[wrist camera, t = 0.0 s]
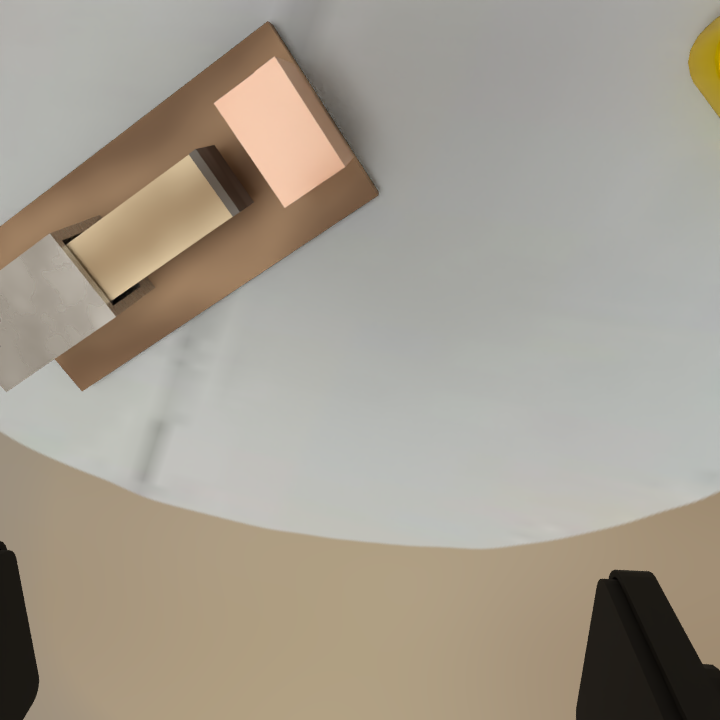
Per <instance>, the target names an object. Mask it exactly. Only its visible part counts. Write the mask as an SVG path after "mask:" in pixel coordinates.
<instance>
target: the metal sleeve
mask: <svg viewBox="0 0 720 720" xmlns="http://www.w3.org/2000/svg"><path fill="white" fill-rule="evenodd" d="M101 219H102V217H101V216H100V215H98V216H95V217H93V218H90V219H87V220H85V221H82V222H79V223H76V224H74V225H71V226H68V227H66V228H63V229H60V230H57V231H55V232H52V233H50V234H48V235H47V236H46V237H44V238H43V239H41V240H40V241H39V242H37V243H36V244H35V245H33V246H32V247H31V248H29V249H28V250H27V251H25V252H24V253H23V254H21V255H20V256H19V257H17V258H16V259H15V260H13V261H12V262H11V263H9V264H8V265H7V266H5V267H4V268H3V269H1V270H0V385H1V387H2V388H3V389H4V390H5V391H6V392H7V391H9V390H10V389H12V388H13V387H14V386H16V385H17V384H19V383H20V382H22V381H23V380H25V379H26V378H28V377H29V376H30V375H32V374H33V373H35V372H36V371H38V370H39V369H41V368H42V367H44V366H45V365H47V364H48V363H49V362H51V361H52V360H54V359H55V358H57V357H58V356H60V355H61V354H63V353H64V352H66V351H67V350H68V349H70V348H71V347H73V346H74V345H76V344H77V343H79V342H80V341H82V340H83V339H84V338H86V337H87V336H89V335H90V334H92V333H93V332H95V331H96V330H98V329H99V328H101V327H102V326H103V325H105V324H106V323H108V322H109V321H111V320H112V319H114V318H115V317H117V316H118V315H119V314H121V313H122V312H123V311H125V310H126V309H127V308H129V307H130V306H131V305H133V304H134V303H135V302H137V301H138V300H139V299H141V298H142V297H143V296H145V295H146V294H147V293H149V292H150V291H151V290H153V289H154V288H155V286H154V285H153V284H152V282H151V281H150V280H149V278H148V277H145V278H144V279H142V280H141V281H140V282H138V283H137V284H135V285H134V286H132V287H131V288H129V289H128V290H127V291H125V292H124V293H122V294H121V295H119V296H118V297H116V298H115V299H114V300H112V301H111V302H110V301H109V299H108V298H107V297H106V296H105V294H104V293H103V292H102V291H101V289H100V288H99V287H98V286H97V284H96V283H95V282H94V281H93V279H92V278H91V277H90V275H89V274H88V273H87V272H86V270H85V269H84V268H83V267H82V265H81V264H80V263H79V262H78V260H77V259H76V258H75V257H74V255H73V254H72V253H71V251H70V250H69V249H68V248H67V246H66V245H67V244H68V243H69V242H71V241H72V240H73V239H75V238H76V237H77V236H79V235H80V234H81V233H83V232H84V231H86V230H87V229H88V228H90V227H91V226H92V225H94V224H95V223H96V222H98V221H99V220H101Z"/></svg>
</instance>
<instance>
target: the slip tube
mask: <svg viewBox="0 0 720 720" xmlns="http://www.w3.org/2000/svg"><path fill="white" fill-rule="evenodd" d="M252 203H254V201H253V200H252V199H251V197H250V196H249V194H248V193H247V191H246V190H245V188H244V187H243V186H242V184H241V183H240V181H239V180H238V178H237V177H236V175H235V174H234V173H233V171H232V170H231V168H230V167H229V165H228V164H227V162H226V161H225V159H224V158H223V157H222V155H221V154H220V152H219V151H218V149H217V148H216V146H215V145H212V146H207V147H203V148H198V149H195V150H194V151H192V152H191V153H190V154H189V155H188V156H186V157H185V158H183V159H182V160H181V161H179V162H178V163H177V164H175V165H174V166H173V167H171V168H170V169H169V170H167V171H166V172H164V173H163V174H162V175H160V176H159V177H158V178H156V179H155V180H154V181H152V182H151V183H149V184H148V185H147V186H145V187H144V188H143V189H141V190H140V191H139V192H137V193H136V194H135V195H133V196H132V197H130V198H129V199H128V200H126V201H125V202H124V203H122V204H121V205H120V206H118V207H117V208H115V209H114V210H113V211H111V212H110V213H109V214H107V215H106V216H105V217H103V218H102V219H101V220H99V221H98V222H96V223H95V224H94V225H92V226H91V227H90V228H88V229H87V230H86V231H84V232H83V233H81V234H80V235H79V236H77V237H76V238H75V239H73V240H72V241H71V242H69V243H68V244H67V245H66V246H67V248H68V249H69V250H70V251H71V253H72V254H73V255H74V257H75V258H76V259H77V260H78V262H79V263H80V264H81V265H82V267H83V268H84V269H85V270H86V272H87V273H88V274H89V275H90V277H91V278H92V279H93V281H94V282H95V283H96V284H97V286H98V287H99V288H100V289H101V291H102V292H103V293H104V294H105V296H106V297H107V298H108V299H109V301H110V302H111V301H112V300H114V299H115V298H116V297H118V296H119V295H121V294H122V293H124V292H125V291H127V290H128V289H129V288H131V287H132V286H134V285H135V284H137V283H138V282H140V281H141V280H142V279H144V278H145V277H147V276H148V275H150V274H151V273H152V272H154V271H155V270H157V269H158V268H160V267H161V266H163V265H164V264H165V263H167V262H168V261H170V260H171V259H173V258H174V257H176V256H177V255H178V254H180V253H181V252H183V251H184V250H186V249H187V248H188V247H190V246H191V245H193V244H194V243H196V242H197V241H199V240H200V239H201V238H203V237H204V236H206V235H207V234H209V233H210V232H212V231H213V230H214V229H216V228H217V227H219V226H220V225H222V224H223V223H224V222H226V221H227V220H229V219H230V218H232V217H233V216H235V215H236V214H238V213H239V212H241V211H242V210H244V209H245V208H247V207H248V206H250V205H251V204H252Z"/></svg>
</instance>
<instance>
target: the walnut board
mask: <svg viewBox="0 0 720 720" xmlns="http://www.w3.org/2000/svg"><path fill="white" fill-rule="evenodd" d="M273 57H277V58H280V59H283V60H285V61H288V62H290V63H293V64H295V65H296V67H297V68H298V70H299V71H300V73H301V75H302V76H303V78H304V79H305V81H306V82H307V84H308V86H309V87H310V89H311V90H312V92H313V93H314V95H315V97H316V98H317V100H318V101H319V103H320V105H321V106H322V108H323V109H324V111H325V112H326V114H327V116H328V117H329V119H330V120H331V122H332V123H333V125H334V127H335V128H336V130H337V131H338V133H339V135H340V136H341V138H342V139H343V141H344V142H345V144H346V146H347V147H348V149H349V150H350V152H351V153H352V155H353V159H352V160H351V161H350V162H349V163H348V164H347V166H346V167H345V168H343V169H342V170H340V171H339V172H337V173H336V174H334V175H333V176H331V177H330V178H328V179H327V180H325V181H324V182H322V183H321V184H319V185H318V186H316V187H315V188H313V189H312V190H311V191H309V192H308V193H306V194H305V195H303V196H302V197H300V198H299V199H297V200H296V201H294V202H293V203H291V204H290V205H289V206H287V207H286V208H284V206H283V205H282V203H281V202H280V200H279V199H278V197H277V196H276V194H275V193H274V191H273V190H272V188H271V187H270V185H269V184H268V182H267V181H266V180H265V178H264V177H263V175H262V174H261V172H260V171H259V169H258V168H257V166H256V165H255V163H254V162H253V160H252V159H251V157H250V156H249V155H248V153H247V152H246V150H245V149H244V147H243V146H242V144H241V143H240V141H239V140H238V138H237V137H236V135H235V134H234V132H233V131H232V129H231V128H230V127H229V125H228V124H227V122H226V121H225V119H224V118H223V116H222V115H221V113H220V112H219V110H218V109H217V107H216V106H215V104H214V103H215V102H216V101H217V100H219V99H220V98H221V97H223V96H224V95H225V94H227V93H228V92H229V91H231V90H232V89H233V88H235V87H236V86H237V85H239V84H240V83H241V82H243V81H244V80H245V79H247V78H248V77H249V76H251V75H252V74H253V73H254V72H255V71H256V70H257V69H259V68H260V67H261V66H263V65H264V64H265V63H267V62H268V61H269V60H271V59H272V58H273ZM212 145H215V146H216V148H217V149H218V151H219V152H220V154H221V155H222V157H223V158H224V159H225V161H226V162H227V164H228V165H229V167H230V168H231V170H232V171H233V173H234V174H235V175H236V177H237V178H238V180H239V181H240V183H241V184H242V186H243V187H244V188H245V190H246V191H247V193H248V194H249V196H250V197H251V199H252V200H253V201H254V203H252V204H251V205H250V206H248V207H247V208H245V209H244V210H242V211H241V212H239V213H238V214H236V215H235V216H233V217H232V218H230V219H229V220H227V221H226V222H224V223H223V224H222V225H220V226H219V227H217V228H216V229H214V230H213V231H212V232H210V233H209V234H207V235H206V236H204V237H203V238H201V239H200V240H199V241H197V242H196V243H194V244H193V245H191V246H190V247H188V248H187V249H186V250H184V251H183V252H181V253H180V254H178V255H177V256H176V257H174V258H173V259H171V260H170V261H168V262H167V263H165V264H164V265H163V266H161V267H160V268H158V269H157V270H155V271H154V272H152V273H151V274H150V275H148V276H147V277H148V278H149V280H150V281H151V282H152V284H153V285H154V286H155V288H154V289H153V290H151V291H150V292H149V293H147V294H146V295H145V296H143V297H142V298H141V299H139V300H138V301H137V302H135V303H134V304H133V305H131V306H130V307H129V308H127V309H126V310H125V311H123V312H122V313H121V314H119V315H118V316H117V317H115V318H114V319H112V320H111V321H109V322H108V323H106V324H105V325H103V326H102V327H101V328H99V329H98V330H96V331H95V332H93V333H92V334H90V335H89V336H87V337H86V338H84V339H83V340H82V341H80V342H79V343H77V344H76V345H74V346H73V347H71V348H70V349H68V350H67V351H66V352H64V353H63V354H61V355H60V356H58V357H57V358H55V360H56V361H57V362H58V363H59V365H60V366H61V367H62V368H63V369H64V371H65V372H66V373H67V374H68V375H69V376H70V378H71V379H72V380H73V381H74V382H75V384H76V385H77V386H78V387H79V388H80V390H81V391H83V390H85V389H86V388H88V387H89V386H91V385H92V384H94V383H95V382H97V381H98V380H100V379H101V378H103V377H104V376H106V375H108V374H109V373H111V372H112V371H114V370H115V369H117V368H118V367H120V366H121V365H123V364H124V363H126V362H127V361H129V360H130V359H132V358H133V357H135V356H136V355H138V354H139V353H141V352H142V351H144V350H145V349H147V348H148V347H150V346H151V345H153V344H154V343H156V342H157V341H159V340H160V339H162V338H163V337H165V336H166V335H168V334H169V333H171V332H172V331H174V330H176V329H177V328H179V327H180V326H182V325H183V324H185V323H186V322H188V321H189V320H191V319H192V318H194V317H195V316H197V315H198V314H200V313H201V312H203V311H204V310H206V309H207V308H209V307H210V306H212V305H213V304H215V303H216V302H218V301H219V300H221V299H222V298H224V297H225V296H227V295H228V294H230V293H231V292H233V291H234V290H236V289H237V288H239V287H240V286H242V285H244V284H245V283H247V282H248V281H250V280H251V279H253V278H254V277H256V276H257V275H259V274H260V273H262V272H263V271H265V270H266V269H268V268H269V267H271V266H272V265H274V264H275V263H277V262H278V261H280V260H281V259H283V258H284V257H286V256H287V255H289V254H290V253H292V252H293V251H295V250H296V249H298V248H299V247H301V246H302V245H304V244H305V243H307V242H309V241H310V240H312V239H313V238H315V237H316V236H318V235H319V234H321V233H322V232H324V231H325V230H327V229H328V228H330V227H331V226H333V225H334V224H336V223H337V222H339V221H340V220H342V219H343V218H345V217H346V216H348V215H349V214H351V213H352V212H354V211H355V210H357V209H358V208H360V207H361V206H363V205H364V204H366V203H367V202H369V201H370V200H372V199H373V198H375V197H377V196H378V194H379V192H378V191H377V189H376V187H375V186H374V184H373V183H372V181H371V180H370V178H369V176H368V175H367V173H366V172H365V170H364V168H363V167H362V165H361V164H360V162H359V161H358V159H357V157H356V156H355V154H354V153H353V151H352V150H351V148H350V146H349V145H348V143H347V142H346V140H345V138H344V137H343V135H342V134H341V132H340V131H339V129H338V127H337V126H336V124H335V123H334V121H333V119H332V118H331V116H330V115H329V113H328V112H327V110H326V108H325V107H324V105H323V104H322V102H321V100H320V99H319V97H318V96H317V94H316V93H315V91H314V89H313V88H312V86H311V85H310V83H309V81H308V80H307V78H306V77H305V75H304V74H303V72H302V70H301V69H300V67H299V66H298V64H297V63H296V61H295V59H294V58H293V56H292V55H291V53H290V51H289V50H288V48H287V47H286V45H285V44H284V42H283V40H282V39H281V37H280V36H279V34H278V32H277V31H276V29H275V28H274V26H273V25H272V24H271V23H270V22H268V21H267V22H266V23H265V24H264V25H262V26H261V27H260V28H258V29H257V30H256V31H254V32H253V33H252V34H251V35H249V36H248V37H247V38H245V39H244V40H243V41H241V42H240V43H239V44H237V45H236V46H235V47H234V48H232V49H231V50H230V51H228V52H227V53H226V54H224V55H223V56H222V57H221V58H219V59H218V60H217V61H215V62H214V63H213V64H211V65H210V66H209V67H208V68H206V69H205V70H204V71H202V72H201V73H200V74H198V75H197V76H196V77H194V78H193V79H192V80H191V81H189V82H188V83H187V84H185V85H184V86H183V87H181V88H180V89H179V90H178V91H176V92H175V93H174V94H172V95H171V96H170V97H168V98H167V99H166V100H165V101H163V102H162V103H161V104H159V105H158V106H157V107H155V108H154V109H153V110H151V111H150V112H149V113H148V114H146V115H145V116H144V117H142V118H141V119H140V120H138V121H137V122H136V123H135V124H133V125H132V126H131V127H129V128H128V129H127V130H125V131H124V132H123V133H121V134H120V135H119V136H118V137H116V138H115V139H114V140H112V141H111V142H110V143H108V144H107V145H106V146H105V147H103V148H102V149H101V150H99V151H98V152H97V153H95V154H94V155H93V156H92V157H90V158H89V159H88V160H86V161H85V162H84V163H82V164H81V165H80V166H78V167H77V168H76V169H75V170H73V171H72V172H71V173H69V174H68V175H67V176H65V177H64V178H63V179H62V180H60V181H59V182H58V183H56V184H55V185H54V186H52V187H51V188H50V189H49V190H47V191H46V192H45V193H43V194H42V195H41V196H39V197H38V198H37V199H35V200H34V201H33V202H32V203H30V204H29V205H28V206H26V207H25V208H24V209H22V210H21V211H20V212H19V213H17V214H16V215H15V216H13V217H12V218H11V219H9V220H8V221H7V222H6V223H4V224H3V225H2V226H0V270H1V269H3V268H4V267H5V266H7V265H8V264H9V263H11V262H12V261H13V260H15V259H16V258H17V257H19V256H20V255H21V254H23V253H24V252H25V251H27V250H28V249H29V248H31V247H32V246H33V245H35V244H36V243H37V242H39V241H40V240H41V239H43V238H44V237H46V236H47V235H48V234H50V233H52V232H55V231H57V230H60V229H63V228H66V227H68V226H71V225H74V224H76V223H79V222H82V221H85V220H87V219H90V218H93V217H95V216H98V215H100V216H101V217H102V218H103V217H105V216H106V215H107V214H109V213H110V212H111V211H113V210H114V209H115V208H117V207H118V206H120V205H121V204H122V203H124V202H125V201H126V200H128V199H129V198H130V197H132V196H133V195H135V194H136V193H137V192H139V191H140V190H141V189H143V188H144V187H145V186H147V185H148V184H149V183H151V182H152V181H154V180H155V179H156V178H158V177H159V176H160V175H162V174H163V173H164V172H166V171H167V170H169V169H170V168H171V167H173V166H174V165H175V164H177V163H178V162H179V161H181V160H182V159H183V158H185V157H186V156H188V155H189V154H190V153H191V152H192V151H194V150H195V149H198V148H203V147H207V146H212Z"/></svg>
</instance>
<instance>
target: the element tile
mask: <svg viewBox="0 0 720 720" xmlns="http://www.w3.org/2000/svg"><path fill="white" fill-rule="evenodd" d="M688 64H689V70H690V75H691V78H692V80H693V82H694V84H695V85H696V86H697V88H698V89H699V90H700V92H701V93H702V94H703V96H704V97H705V98H706V100H707V101H708V103H709V104H710V105H711V107H712V108H713V109H714V111H715V112H716V113H717V115H718V116H719V117H720V16H719V17H718V18H716V19H715V20H714V21H713V22H712V23H711V24H710V25H708V26H707V27H706V28H705V29H704V31H703V32H702V33H701V34H700V35H699V36H698V37H697V39H696V41H695V43H694V45H693V46H692V48H691V50H690V55H689V61H688Z"/></svg>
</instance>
